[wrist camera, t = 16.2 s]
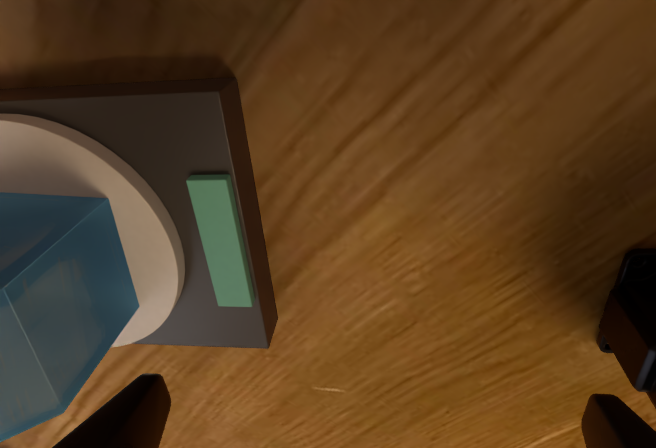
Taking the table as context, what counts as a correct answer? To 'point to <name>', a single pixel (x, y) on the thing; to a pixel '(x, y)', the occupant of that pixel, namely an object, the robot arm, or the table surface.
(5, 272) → the perfume bottle
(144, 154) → the kitchen scale
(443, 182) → the table surface
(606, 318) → the robot arm
